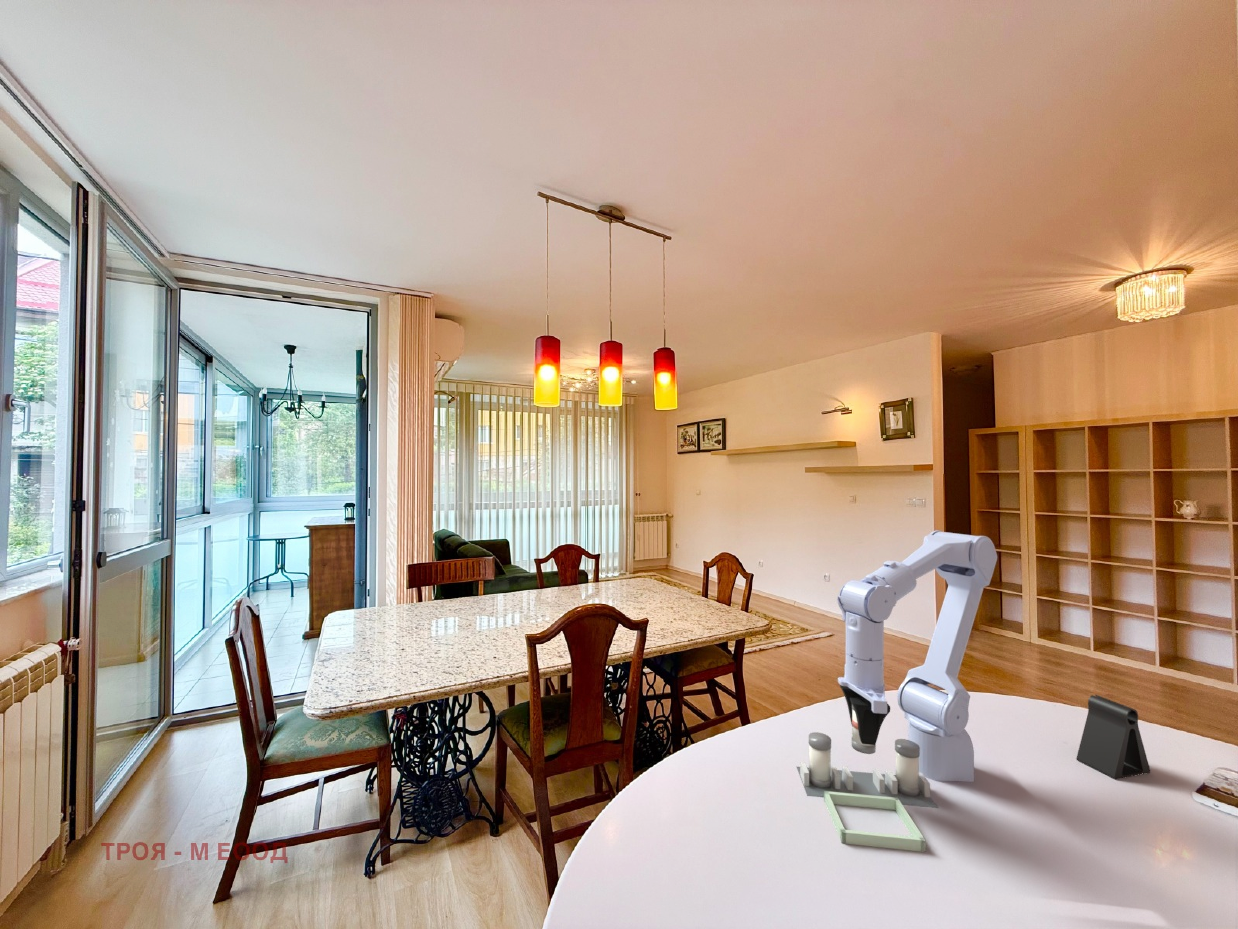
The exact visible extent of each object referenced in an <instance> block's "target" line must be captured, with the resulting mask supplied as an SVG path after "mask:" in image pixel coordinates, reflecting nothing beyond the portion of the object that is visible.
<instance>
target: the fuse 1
mask: <svg viewBox="0 0 1238 929" xmlns="http://www.w3.org/2000/svg"><path fill="white" fill-rule="evenodd" d="M808 745H809V746H808V752H809V754H808V759H809V760H808V768H809V782H810V783H811V784H812V785H813V786H815V787H818V788H822V789H826V788H829V787H831V765H832V764H831V760H832V757H831V756H832V754H831V752H832V751H831V749H832V739H831V737H830V736H829V735H827V734H826V733H822V732H816V731H814V732H813V731H812V732H810V733H809V734H808Z"/></svg>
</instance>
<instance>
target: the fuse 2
mask: <svg viewBox="0 0 1238 929" xmlns="http://www.w3.org/2000/svg"><path fill="white" fill-rule="evenodd" d="M894 750H895V751H894V752H895V768H894V769H895V770H894V771H895V772H894V773H895V774H894V775H895V778H896V779H897V781H898V792H900V793H902V794H904V795H906V796H910V797H916V796H919V794H920V785H919V756H920V747H919V745H918V744H916V743H915V742H912V741H910V740H908V739H906V738H897V739H895V741H894Z"/></svg>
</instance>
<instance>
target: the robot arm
mask: <svg viewBox="0 0 1238 929" xmlns="http://www.w3.org/2000/svg"><path fill="white" fill-rule="evenodd" d="M997 561H998V554H997V551H996V547H995V544H994V543H993V541H992V540H991V538H990V537H988V536H986V535H971V534H963V533H955V532H954V533H953V532H947V531H946V532H945V531H942V530H933V531H931V532H930V533H929V534H927V535H925V536H924V537H923V542H922V545H921V546H920V547H918V548H917V549H916V550H915V551H914V552H911V554H910V555H909V556H908V557H906V558H905V559H904V560H902V561H901V562H900V561H897V560H886V561H884V562H883V565H882V566H881V567H879V568H878V569H876V570H874V571H873V572H871V573H867V575H865V576H864V578H861V579H860V580H856V579H852V580H849V581H848V582H846V583H844V584H843V585H842V587H840V591H839V594H838V596H837V598H836V602H837V604H838V607H839V609H840V610H841V613H842V621H843V622H844V623H845V663H844V675H843V677H842V676H839V677H838V678H837V683H838V684H839V687H840V689H841V691H842V693H843V695H844V699H845V701H846V702H845V703H846V705H847V708H848V713H849V720H850V724H851V725H852V705H853V708H854V710H855V713H856V717H857V722H858V731H859V737H860V740H861V743H862V744H870V745H875V744H877V741H878V737H879V734H880V730H881V728H882V724H883V722H884V720H885V719H886V717H887V716H888V715H889V713H890V712H891V706H890V705H889V704H888V701H887V699H886V688H885V687H886V684H885V682H884V665H885V664H884V660H885V658H884V643H885V642H884V636H885V635H884V632H885V631H884V630H885V627H884V626H885V625H884V624H885V623H884V622H885V621H887V620H888V619H889V618H890V616H891V614H892V611H893V609H894V607H896V604H897V602H898V601H900V600H901V599H902V598H904V597H906V596H907V595H909V594H910V593H911V592H912V591H914V590H915V589H916V587H917V582H918V581H917V579H919V578H921V577H923V576H925V575H926V574H928V573H930V572H932V571H934V570H935V571H936V572H937V574H938V576H940V578H942V579H944V580H945V582H946V584H947V589H946V593H945V596H944V599H943V602H942V605H941V608H940V612H939V615H938V618H937V621H936V625H935V629H934V631H933V635H932V638H931V641H930V644H929V647H928V651H927V654H926V657H925V661H924V663H923V665H919V666H917V667H914V668H911V669H909V670H908V672H907V673H906V677H905V679H904V680H903V681H902V683H901V684H900V686H899V687H898V690H897V693H896V694H897V695H896V699H897V704H898V706H899V708H900V710H901V711H902V712H904V719H906V721H907V722H908V724H907V725H908V726H907V731H908V733H907V734H908V735H907V736H908V737H907V740H910V741H912V742H915V743H916V744H918V745H919V747H920V756H919V773H922V774H923V775H924V777H925V778H926V779H929V780H933V781H936V782H955V781H957V782H966V783H967V782H968V783H974V782H975V750H974V746H973V741H972V738H971V736H970V734H969V732H968V731H967V730H966V727H967V725H968V723H969V716H970V715H969V706H970V699H971V695H970V694H969V692H968V691H967V689H966V688H965V686H964V685H963V684H962V683H961V681H960V680H959V678H958V677H959V672H960V669H961V666H962V662H963V659H964V656H965V652H966V648H967V646H968V643H969V638H970V636H971V632H972V628H973V625H974V623H975V622H974V621H975V619H976V616H977V612H978V610H979V605H980V603H981V602H980V601H981V598H982V594H983V591H984V588H986V587H988V586H990V583H991V580H992V577H993V575H994V571H995V568H996V565H997ZM931 685H932V686H934V687H932V686H931ZM935 687H936V688H935ZM937 688H939V689H942V690H944V691H946V692H944V691H942V690H939V689H937ZM862 698H863V699H862Z"/></svg>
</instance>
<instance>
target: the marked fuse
mask: <svg viewBox="0 0 1238 929" xmlns="http://www.w3.org/2000/svg"><path fill="white" fill-rule="evenodd" d="M862 699H863V698H862ZM851 727H852V728H851V734H852V735H851V748H852V749H854V750H855V751H856V752H858V753H861V754H865V755H872V754H875V753H876V750H877V749H876V748H877V745H876V744H877V743H876V744H875V745H870V744H862V743H861V740H860V737H859V731H858V722H857V717H856V713H855V710H854V708H853V705H852V724H851Z"/></svg>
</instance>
